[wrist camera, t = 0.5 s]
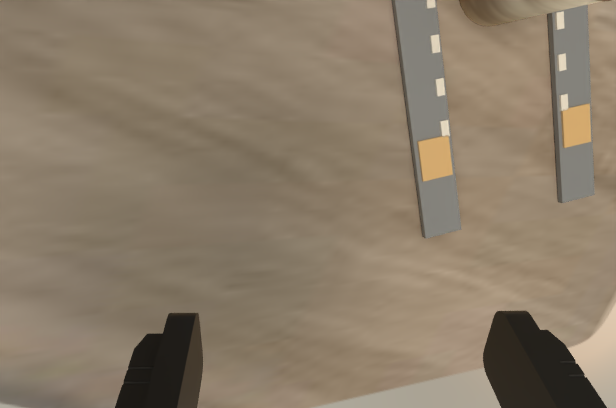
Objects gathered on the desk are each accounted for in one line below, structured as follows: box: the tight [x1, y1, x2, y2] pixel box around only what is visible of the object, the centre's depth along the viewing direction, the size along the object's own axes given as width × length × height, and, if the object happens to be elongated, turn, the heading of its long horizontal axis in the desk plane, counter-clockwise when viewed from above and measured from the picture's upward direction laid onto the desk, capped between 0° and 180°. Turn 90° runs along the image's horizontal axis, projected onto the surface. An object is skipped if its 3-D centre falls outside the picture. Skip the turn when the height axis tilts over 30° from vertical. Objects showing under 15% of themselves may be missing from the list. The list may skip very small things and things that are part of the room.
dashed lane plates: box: [392, 0, 595, 238], centre depth 37 cm, size 22×15×1 cm
